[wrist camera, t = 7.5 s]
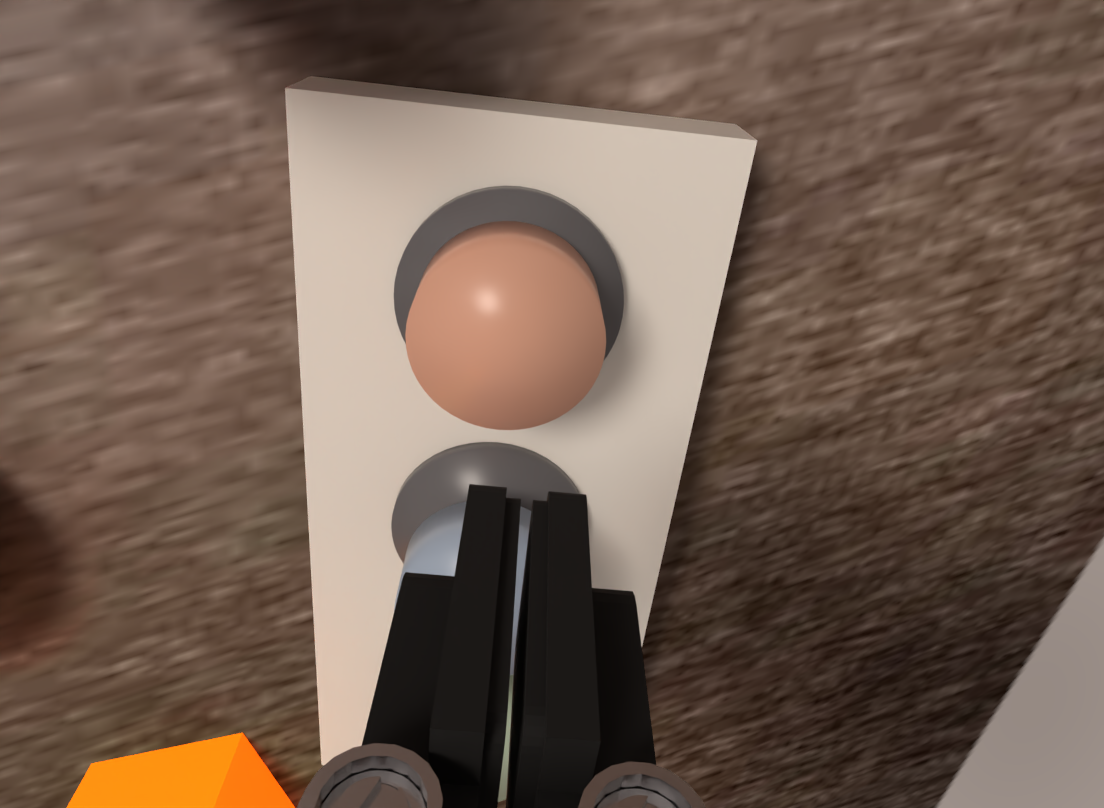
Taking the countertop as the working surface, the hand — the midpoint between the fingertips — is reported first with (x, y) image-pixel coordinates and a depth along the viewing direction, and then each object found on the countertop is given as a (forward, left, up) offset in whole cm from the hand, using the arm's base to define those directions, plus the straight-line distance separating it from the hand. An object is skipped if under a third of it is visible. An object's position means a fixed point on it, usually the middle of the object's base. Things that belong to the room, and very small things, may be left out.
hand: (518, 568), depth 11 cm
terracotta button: (0, +1, -11) cm, 11 cm away
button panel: (0, +9, -15) cm, 17 cm away
